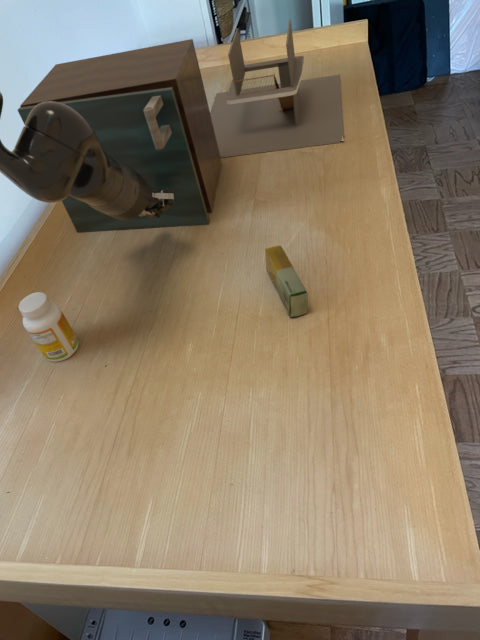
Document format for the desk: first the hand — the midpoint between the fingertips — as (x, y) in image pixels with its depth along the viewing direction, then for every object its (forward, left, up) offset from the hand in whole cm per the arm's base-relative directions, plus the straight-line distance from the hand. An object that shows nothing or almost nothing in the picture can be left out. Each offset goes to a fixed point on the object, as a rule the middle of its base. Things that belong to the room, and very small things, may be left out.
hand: (155, 212), depth 92 cm
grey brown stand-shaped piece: (+18, +43, -5) cm, 47 cm away
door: (-5, +1, -5) cm, 7 cm away
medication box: (+23, -18, -5) cm, 29 cm away
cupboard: (-5, +14, -5) cm, 16 cm away
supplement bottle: (-11, -26, -5) cm, 29 cm away
